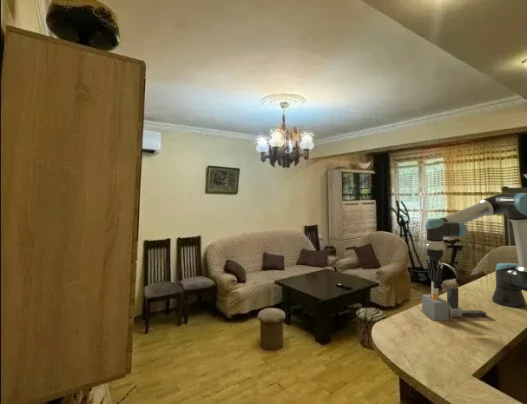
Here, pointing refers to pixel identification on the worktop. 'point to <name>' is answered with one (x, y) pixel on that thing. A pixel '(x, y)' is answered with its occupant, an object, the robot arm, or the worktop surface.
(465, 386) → the worktop surface
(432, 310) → the end cabinet
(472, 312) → the rail
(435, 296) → the button
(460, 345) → the worktop surface
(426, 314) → the base board
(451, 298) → the carriage
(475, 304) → the worktop surface
